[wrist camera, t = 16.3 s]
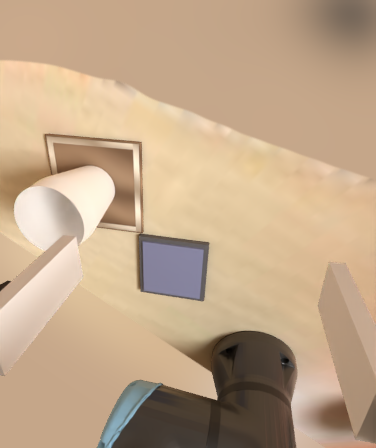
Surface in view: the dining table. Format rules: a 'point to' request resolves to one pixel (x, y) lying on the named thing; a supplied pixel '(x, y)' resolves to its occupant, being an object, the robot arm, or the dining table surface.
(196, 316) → the dining table surface
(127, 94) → the dining table surface
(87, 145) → the marked board
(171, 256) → the ink pad
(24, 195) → the cup
